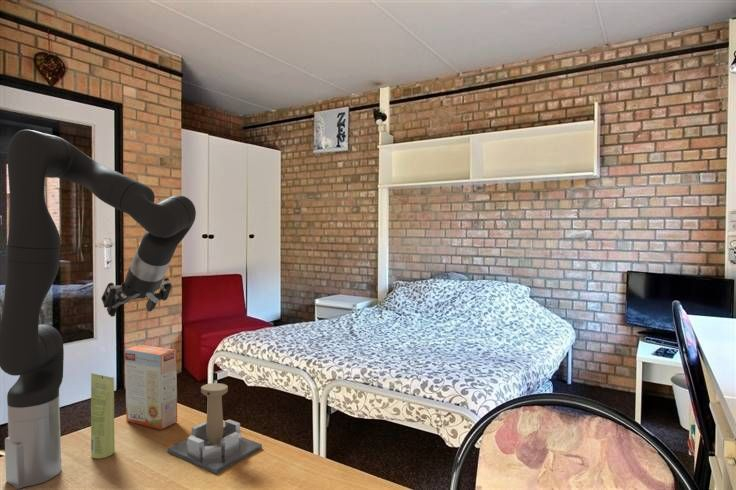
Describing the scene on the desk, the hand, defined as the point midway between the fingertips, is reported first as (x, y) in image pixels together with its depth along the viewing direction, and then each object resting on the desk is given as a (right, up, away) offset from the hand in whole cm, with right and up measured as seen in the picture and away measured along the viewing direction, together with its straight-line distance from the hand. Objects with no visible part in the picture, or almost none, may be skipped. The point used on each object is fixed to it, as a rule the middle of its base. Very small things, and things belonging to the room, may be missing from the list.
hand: (130, 311), depth 111 cm
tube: (-6, -35, -1) cm, 35 cm away
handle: (+20, -34, +1) cm, 39 cm away
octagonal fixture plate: (+20, -35, +2) cm, 40 cm away
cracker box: (-3, -34, +17) cm, 38 cm away
